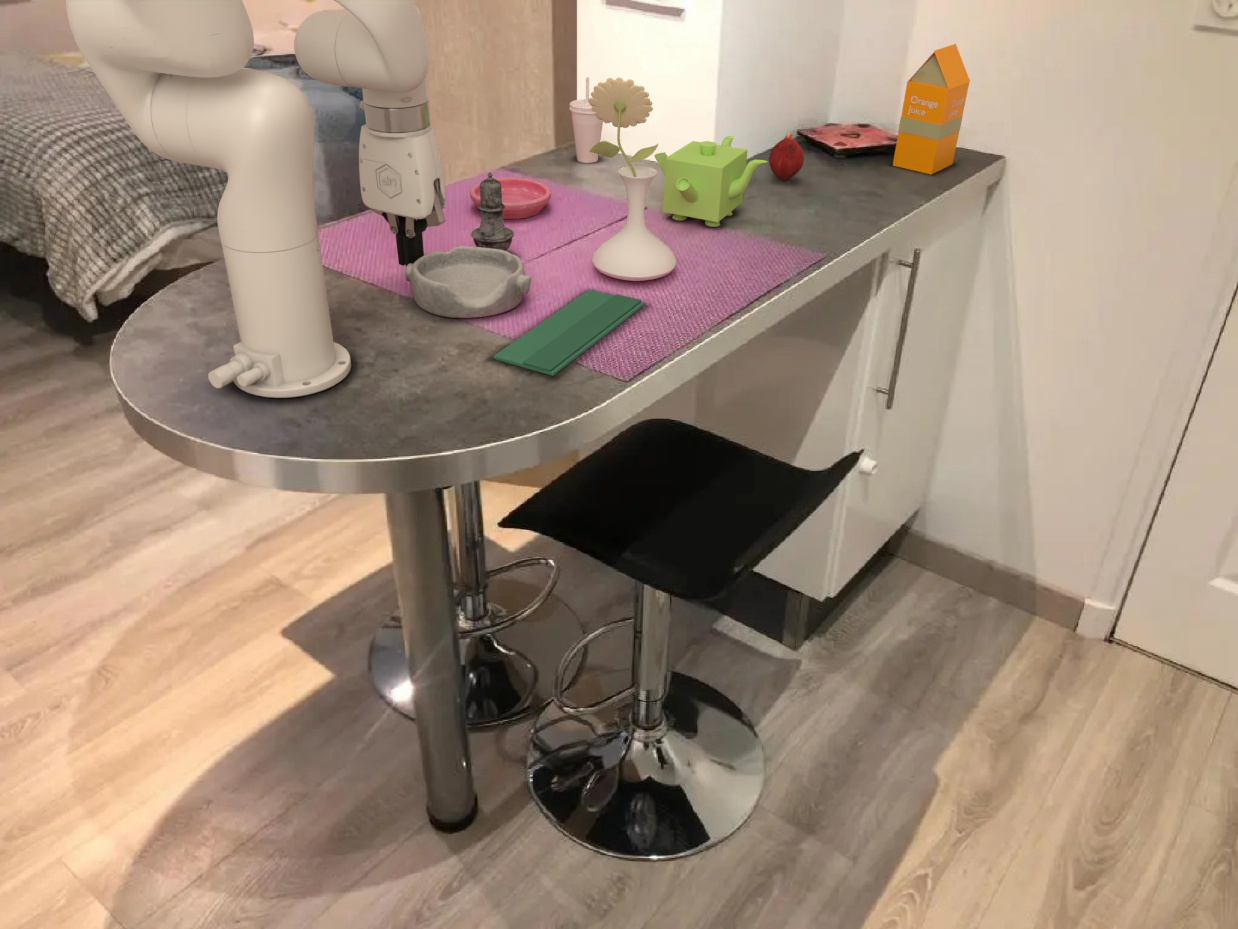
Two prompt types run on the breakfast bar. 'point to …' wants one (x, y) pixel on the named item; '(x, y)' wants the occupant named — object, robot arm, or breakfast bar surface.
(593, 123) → the smoothie
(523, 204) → the saucer
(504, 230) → the salt shaker
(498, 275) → the dish
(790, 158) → the onion
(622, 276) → the flower in vase
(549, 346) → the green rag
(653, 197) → the breakfast bar surface
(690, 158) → the kettle
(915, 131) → the orange juice
